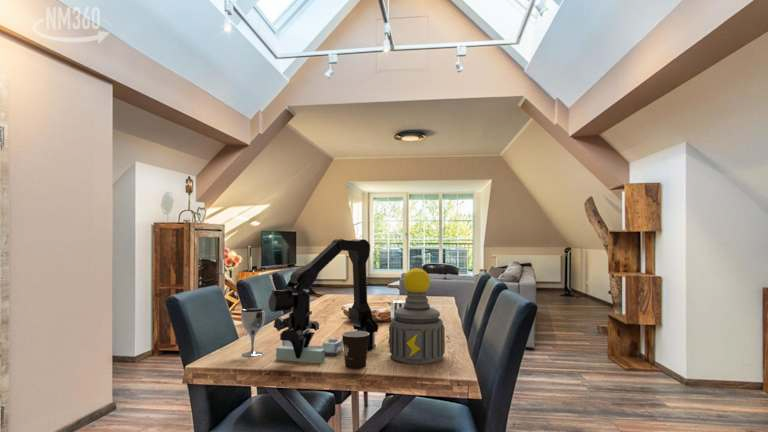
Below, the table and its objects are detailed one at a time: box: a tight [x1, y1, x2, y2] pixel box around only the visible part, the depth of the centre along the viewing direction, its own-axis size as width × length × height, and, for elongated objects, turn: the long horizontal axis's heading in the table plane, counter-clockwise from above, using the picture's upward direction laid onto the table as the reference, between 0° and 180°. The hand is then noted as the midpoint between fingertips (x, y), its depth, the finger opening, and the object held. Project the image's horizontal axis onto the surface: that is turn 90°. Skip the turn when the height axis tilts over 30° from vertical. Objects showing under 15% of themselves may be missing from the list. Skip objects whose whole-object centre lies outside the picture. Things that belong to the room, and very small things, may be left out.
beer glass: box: [390, 299, 406, 320], centre depth 168 cm, size 7×7×15 cm
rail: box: [275, 345, 326, 364], centre depth 139 cm, size 16×3×4 cm, turn 76°
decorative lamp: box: [388, 267, 446, 365], centre depth 144 cm, size 19×19×30 cm
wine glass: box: [240, 307, 266, 358], centre depth 146 cm, size 8×8×15 cm
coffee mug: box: [341, 330, 369, 370], centre depth 134 cm, size 12×9×10 cm
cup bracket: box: [281, 337, 344, 357], centre depth 150 cm, size 20×7×4 cm, turn 78°
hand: (300, 356), depth 139 cm, fingers open, 3 cm apart
